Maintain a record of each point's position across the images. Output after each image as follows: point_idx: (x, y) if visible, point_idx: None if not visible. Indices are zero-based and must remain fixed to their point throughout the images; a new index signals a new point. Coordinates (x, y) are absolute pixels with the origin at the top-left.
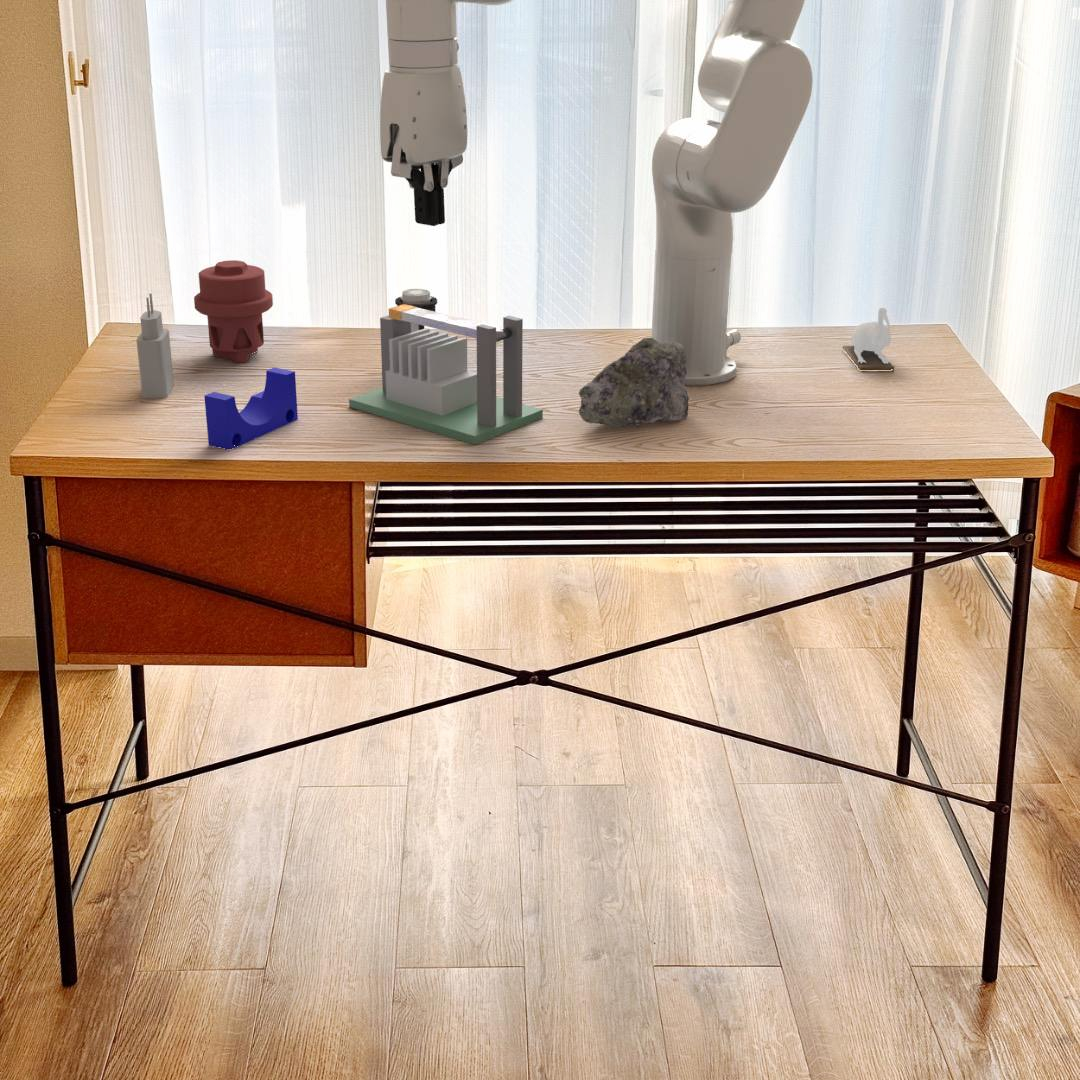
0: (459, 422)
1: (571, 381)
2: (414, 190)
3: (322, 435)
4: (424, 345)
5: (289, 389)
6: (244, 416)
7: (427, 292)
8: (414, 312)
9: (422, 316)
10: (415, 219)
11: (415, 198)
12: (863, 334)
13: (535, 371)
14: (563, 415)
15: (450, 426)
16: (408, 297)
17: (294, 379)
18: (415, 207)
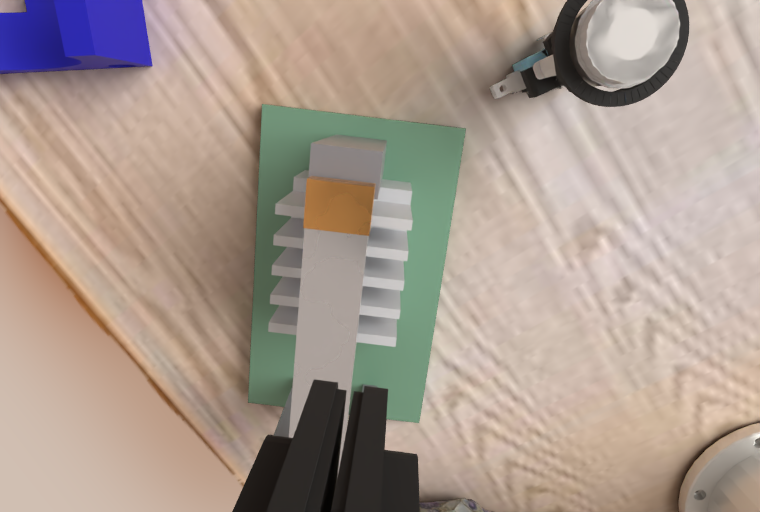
0: (285, 349)
1: (622, 361)
2: (272, 504)
3: (123, 166)
4: (289, 301)
5: (93, 60)
6: (35, 5)
7: (649, 67)
8: (321, 262)
9: (302, 302)
10: (314, 382)
11: (235, 507)
12: None
13: (649, 278)
14: (447, 433)
15: (259, 348)
16: (585, 37)
17: (101, 57)
18: (256, 460)
